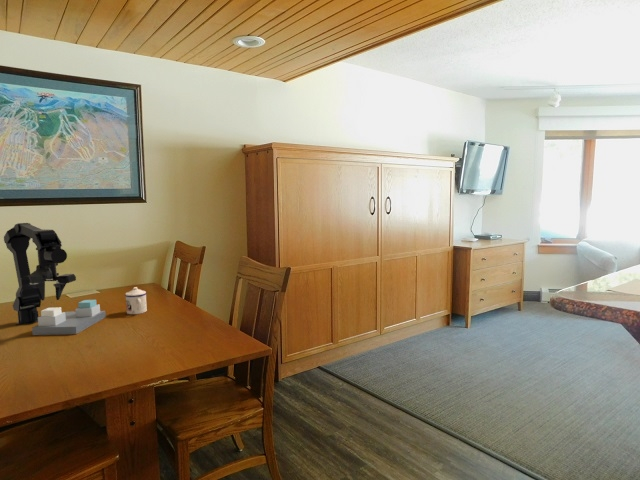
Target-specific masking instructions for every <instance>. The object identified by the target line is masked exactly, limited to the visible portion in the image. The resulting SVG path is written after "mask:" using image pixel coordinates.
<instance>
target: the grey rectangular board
mask: <svg viewBox="0 0 640 480" xmlns="http://www.w3.org/2000/svg"><path fill="white" fill-rule="evenodd" d="M96 304H97V303H96ZM100 306H101V305H100V303H99V304H97V305H96V306H94V307H92V308H79V306H78V307H76V308H75V311H62V313H61V314H59V315H57V316H54V317H41V315H40V316H39V317H38V321H37V325H35V326H33V327H31V331H32V333H31V334H32V336H49V335H51V336H52V335H57V336H59V335H77V334H79V333H81V332H83V331H84V330H86V329H87V328H90V327H91V326H93V325H95V324H96V323H99V322H100V321H103V319H105V318H107V317H106V310H101V307H100Z"/></svg>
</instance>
